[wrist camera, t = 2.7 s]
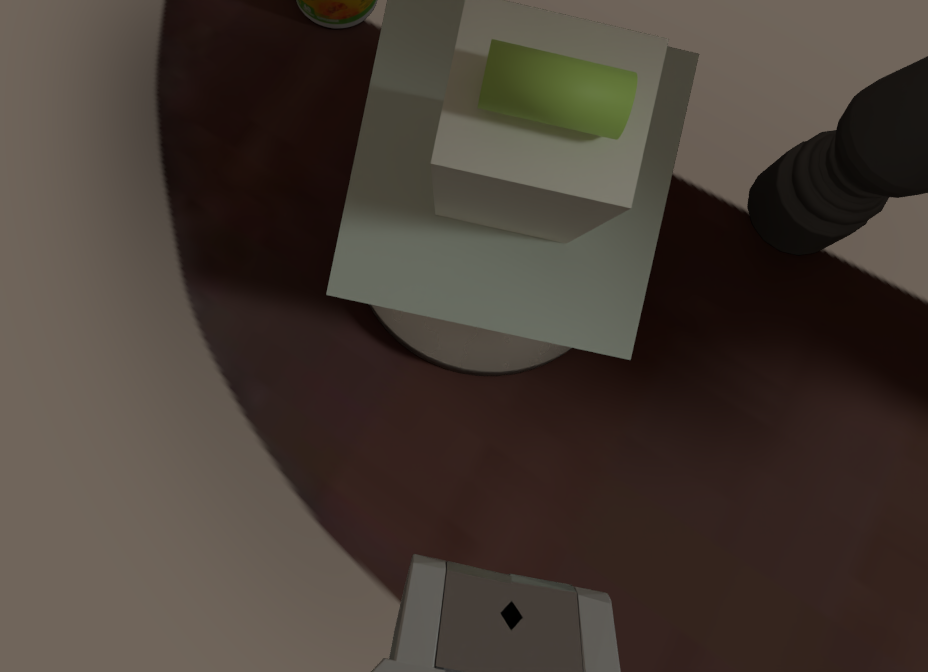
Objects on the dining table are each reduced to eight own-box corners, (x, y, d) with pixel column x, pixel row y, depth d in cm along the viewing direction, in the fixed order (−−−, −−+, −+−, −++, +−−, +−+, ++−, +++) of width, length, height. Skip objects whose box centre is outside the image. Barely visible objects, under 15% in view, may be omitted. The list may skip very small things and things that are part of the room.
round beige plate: (594, 401, 38) (646, 383, 29) (325, 344, 37) (300, 310, 29) (633, 155, 41) (689, 77, 33) (386, 99, 40) (380, 5, 32)
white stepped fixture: (621, 357, 31) (757, 394, 17) (331, 295, 30) (243, 283, 17) (686, 66, 30) (877, -126, 17) (393, -2, 30) (352, -257, 16)
